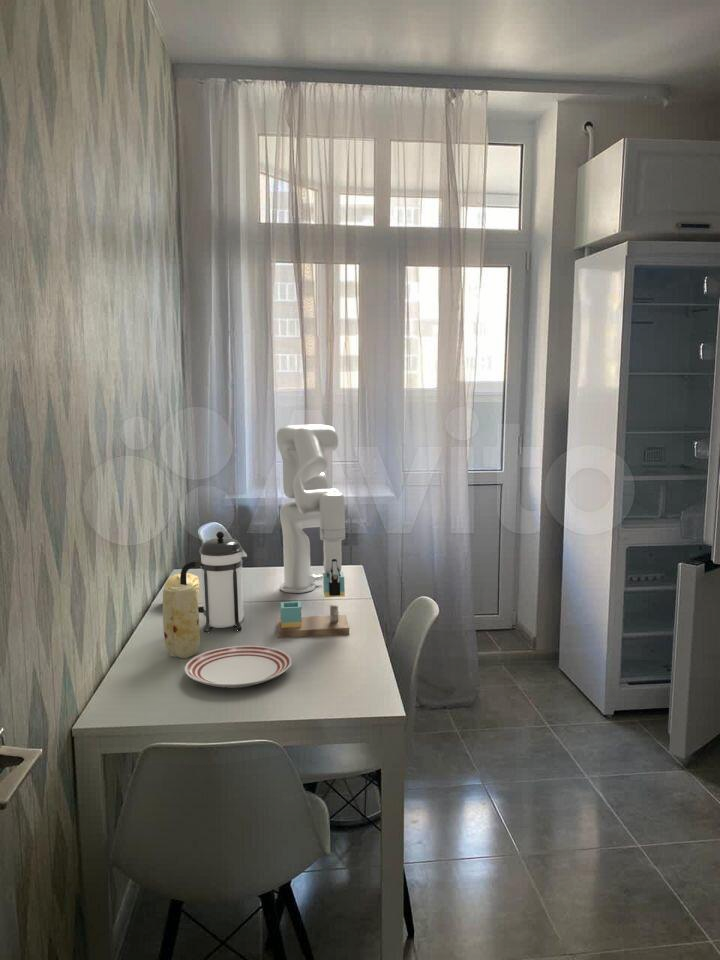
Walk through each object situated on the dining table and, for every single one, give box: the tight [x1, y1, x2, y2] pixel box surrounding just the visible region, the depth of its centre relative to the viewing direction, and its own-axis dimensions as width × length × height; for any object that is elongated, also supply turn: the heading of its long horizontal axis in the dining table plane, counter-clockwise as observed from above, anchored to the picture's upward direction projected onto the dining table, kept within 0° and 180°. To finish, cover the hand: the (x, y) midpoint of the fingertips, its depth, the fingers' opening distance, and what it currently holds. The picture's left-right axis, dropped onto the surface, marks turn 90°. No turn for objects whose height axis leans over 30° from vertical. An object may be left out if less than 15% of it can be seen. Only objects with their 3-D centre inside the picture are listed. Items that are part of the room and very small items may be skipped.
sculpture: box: [163, 572, 201, 599], centre depth 254 cm, size 11×12×11 cm
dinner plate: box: [184, 645, 292, 689], centre depth 194 cm, size 27×27×3 cm
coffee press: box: [180, 531, 248, 634], centre depth 228 cm, size 17×16×30 cm
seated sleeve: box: [280, 600, 302, 628], centre depth 226 cm, size 6×6×6 cm
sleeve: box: [322, 571, 346, 598], centre depth 226 cm, size 6×6×6 cm
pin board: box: [277, 604, 350, 639], centre depth 227 cm, size 21×12×7 cm, turn 96°
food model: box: [162, 584, 201, 659], centre depth 206 cm, size 10×7×20 cm
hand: (333, 591), depth 226 cm, fingers closed on sleeve, 6 cm apart
